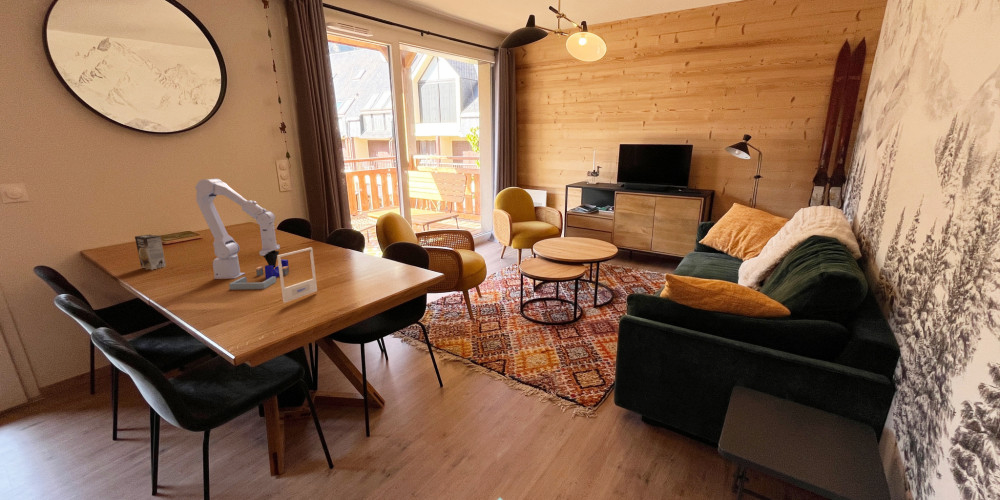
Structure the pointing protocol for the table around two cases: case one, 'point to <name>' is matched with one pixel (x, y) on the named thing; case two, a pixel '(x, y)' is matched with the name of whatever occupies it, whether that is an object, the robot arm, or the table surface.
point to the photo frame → (299, 288)
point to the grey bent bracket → (251, 284)
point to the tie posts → (260, 270)
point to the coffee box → (150, 251)
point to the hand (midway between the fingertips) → (272, 267)
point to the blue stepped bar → (274, 272)
